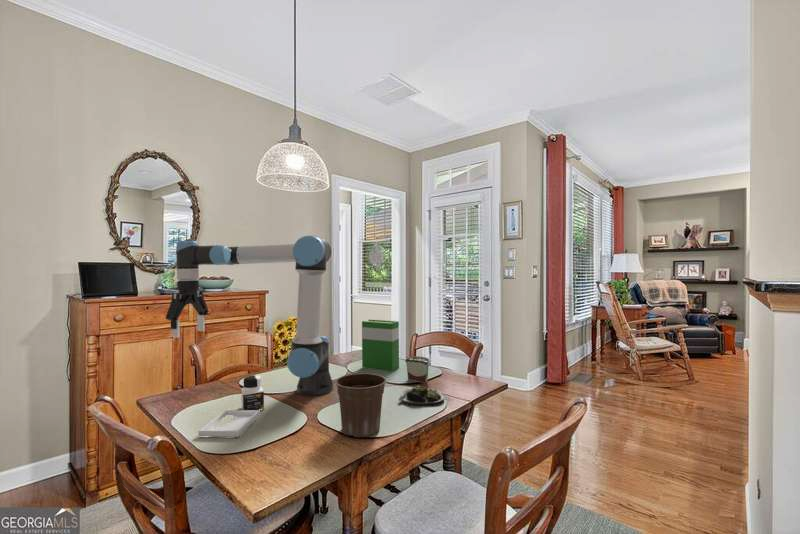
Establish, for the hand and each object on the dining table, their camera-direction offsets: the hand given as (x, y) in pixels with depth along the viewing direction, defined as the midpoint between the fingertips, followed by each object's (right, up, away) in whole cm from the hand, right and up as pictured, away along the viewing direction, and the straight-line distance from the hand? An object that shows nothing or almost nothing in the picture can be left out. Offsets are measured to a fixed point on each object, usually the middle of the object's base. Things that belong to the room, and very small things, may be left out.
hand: (189, 334), depth 148 cm
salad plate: (+91, -26, +1) cm, 95 cm away
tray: (+27, -26, -23) cm, 44 cm away
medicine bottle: (+28, -27, -8) cm, 39 cm away
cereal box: (+73, -26, +47) cm, 90 cm away
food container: (+92, -26, +26) cm, 99 cm away
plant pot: (+70, -26, -26) cm, 80 cm away
